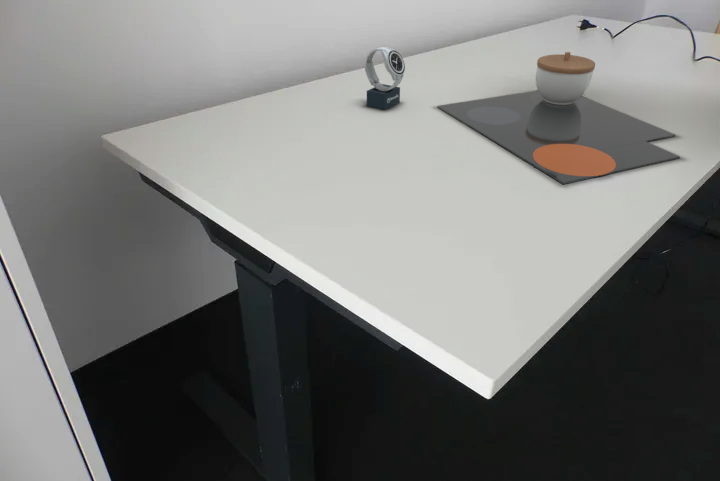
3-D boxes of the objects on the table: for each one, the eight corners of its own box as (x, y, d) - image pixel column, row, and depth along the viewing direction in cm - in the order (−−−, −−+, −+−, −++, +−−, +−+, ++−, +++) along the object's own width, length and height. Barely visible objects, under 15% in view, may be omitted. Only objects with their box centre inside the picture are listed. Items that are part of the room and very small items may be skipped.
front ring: (577, 139, 92) (577, 139, 92) (634, 167, 82) (634, 167, 82) (516, 151, 88) (516, 150, 88) (568, 182, 78) (568, 182, 78)
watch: (393, 112, 105) (394, 54, 99) (359, 104, 109) (359, 48, 103) (408, 104, 109) (410, 48, 103) (375, 97, 113) (375, 42, 107)
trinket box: (553, 88, 115) (561, 43, 110) (597, 101, 108) (609, 53, 103) (520, 98, 110) (527, 51, 105) (564, 112, 103) (575, 62, 98)
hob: (559, 88, 117) (559, 87, 116) (711, 151, 88) (711, 149, 88) (437, 107, 107) (437, 105, 107) (563, 184, 78) (563, 182, 78)
